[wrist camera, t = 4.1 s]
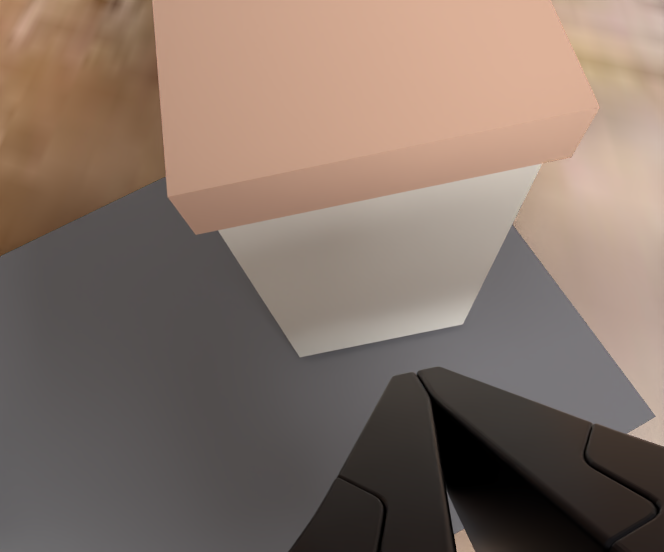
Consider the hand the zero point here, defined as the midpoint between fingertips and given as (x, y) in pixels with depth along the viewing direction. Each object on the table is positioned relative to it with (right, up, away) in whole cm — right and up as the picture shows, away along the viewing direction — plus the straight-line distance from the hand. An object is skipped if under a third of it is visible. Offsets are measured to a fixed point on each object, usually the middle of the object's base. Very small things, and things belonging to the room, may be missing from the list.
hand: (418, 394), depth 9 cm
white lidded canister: (0, +2, +10) cm, 10 cm away
